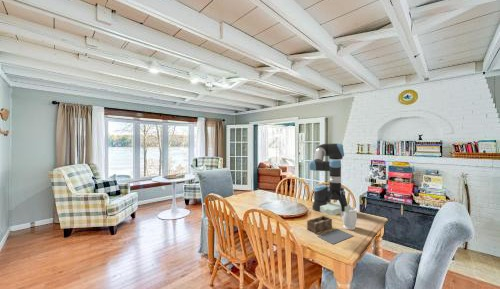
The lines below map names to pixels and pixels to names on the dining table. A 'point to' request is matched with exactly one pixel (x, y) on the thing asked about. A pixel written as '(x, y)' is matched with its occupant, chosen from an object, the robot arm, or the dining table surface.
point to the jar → (350, 218)
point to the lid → (333, 208)
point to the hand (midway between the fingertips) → (335, 213)
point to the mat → (335, 236)
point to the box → (319, 224)
